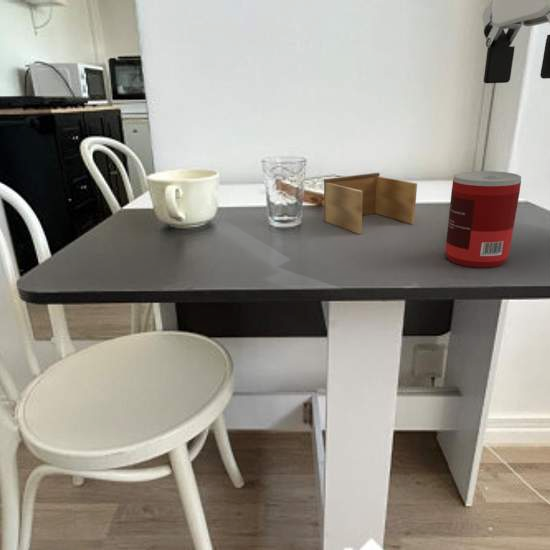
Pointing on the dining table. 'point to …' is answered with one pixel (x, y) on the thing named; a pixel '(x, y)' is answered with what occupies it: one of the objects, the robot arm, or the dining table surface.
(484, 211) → the canned food
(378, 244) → the dining table surface
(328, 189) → the brown u-shaped panel piece
